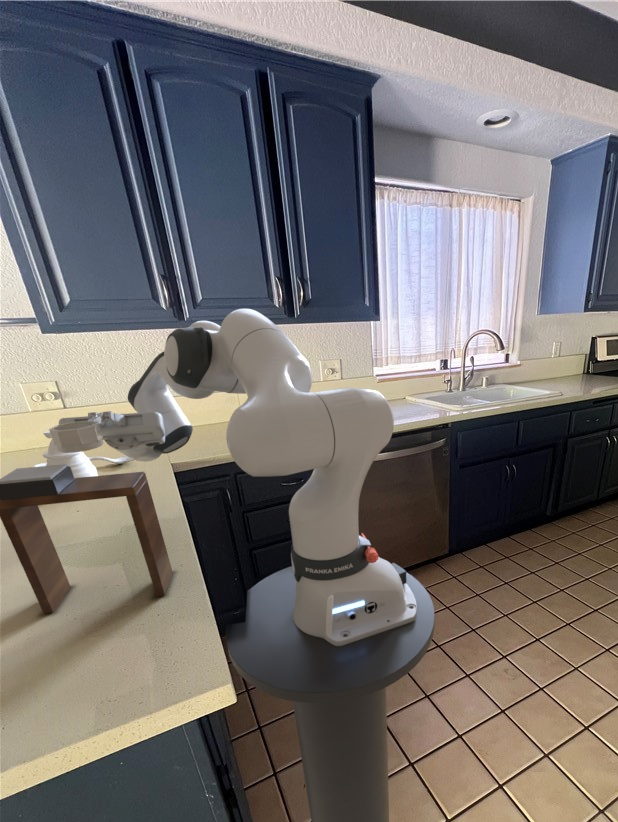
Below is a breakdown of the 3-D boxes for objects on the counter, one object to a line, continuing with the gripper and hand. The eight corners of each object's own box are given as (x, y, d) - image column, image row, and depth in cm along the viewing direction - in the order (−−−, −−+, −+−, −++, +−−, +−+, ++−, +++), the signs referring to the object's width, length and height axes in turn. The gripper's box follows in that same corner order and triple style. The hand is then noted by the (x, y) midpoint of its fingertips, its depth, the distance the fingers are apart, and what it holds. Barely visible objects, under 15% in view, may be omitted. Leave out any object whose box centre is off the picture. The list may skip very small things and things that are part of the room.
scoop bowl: (126, 425, 93) (120, 407, 91) (96, 450, 76) (89, 428, 74) (90, 428, 91) (84, 409, 90) (52, 454, 75) (43, 432, 73)
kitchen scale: (75, 479, 75) (69, 463, 73) (58, 494, 68) (51, 477, 67) (22, 484, 73) (15, 467, 72) (0, 500, 67) (-8, 482, 65)
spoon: (137, 466, 150) (134, 456, 148) (30, 476, 141) (27, 467, 140) (142, 458, 157) (140, 449, 156) (42, 468, 149) (38, 458, 148)
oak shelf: (172, 572, 87) (144, 471, 78) (165, 595, 80) (133, 487, 71) (62, 588, 83) (18, 483, 73) (43, 614, 76) (-8, 501, 66)
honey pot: (57, 499, 123) (33, 439, 116) (47, 488, 132) (25, 431, 124) (106, 487, 132) (87, 429, 124) (94, 477, 140) (76, 423, 132)
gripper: (75, 424, 100) (40, 404, 86) (169, 417, 104) (150, 397, 91) (77, 450, 99) (43, 434, 86) (172, 442, 104) (153, 426, 90)
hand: (99, 415), depth 88 cm, fingers closed on scoop bowl
